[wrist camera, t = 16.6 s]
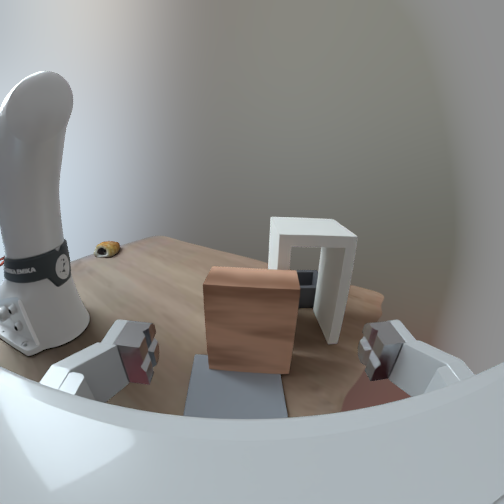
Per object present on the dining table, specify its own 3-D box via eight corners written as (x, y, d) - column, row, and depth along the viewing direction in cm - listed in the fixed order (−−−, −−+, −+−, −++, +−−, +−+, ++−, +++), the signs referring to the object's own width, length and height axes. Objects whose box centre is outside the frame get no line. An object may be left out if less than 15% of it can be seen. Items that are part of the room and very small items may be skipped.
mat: (183, 420, 24) (183, 417, 24) (195, 357, 34) (195, 354, 34) (287, 421, 25) (288, 419, 24) (276, 358, 35) (276, 355, 35)
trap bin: (259, 308, 48) (260, 288, 46) (257, 288, 55) (257, 269, 54) (324, 307, 48) (327, 287, 47) (314, 287, 56) (316, 270, 54)
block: (215, 345, 36) (212, 266, 33) (287, 349, 36) (296, 270, 32) (208, 368, 32) (202, 284, 28) (288, 374, 31) (300, 289, 27)
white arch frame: (271, 347, 37) (279, 234, 32) (265, 311, 47) (270, 216, 41) (337, 343, 38) (357, 236, 32) (320, 310, 47) (333, 219, 42)
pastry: (107, 247, 77) (105, 236, 76) (125, 248, 77) (124, 236, 76) (92, 258, 68) (91, 245, 67) (112, 259, 68) (110, 245, 67)
